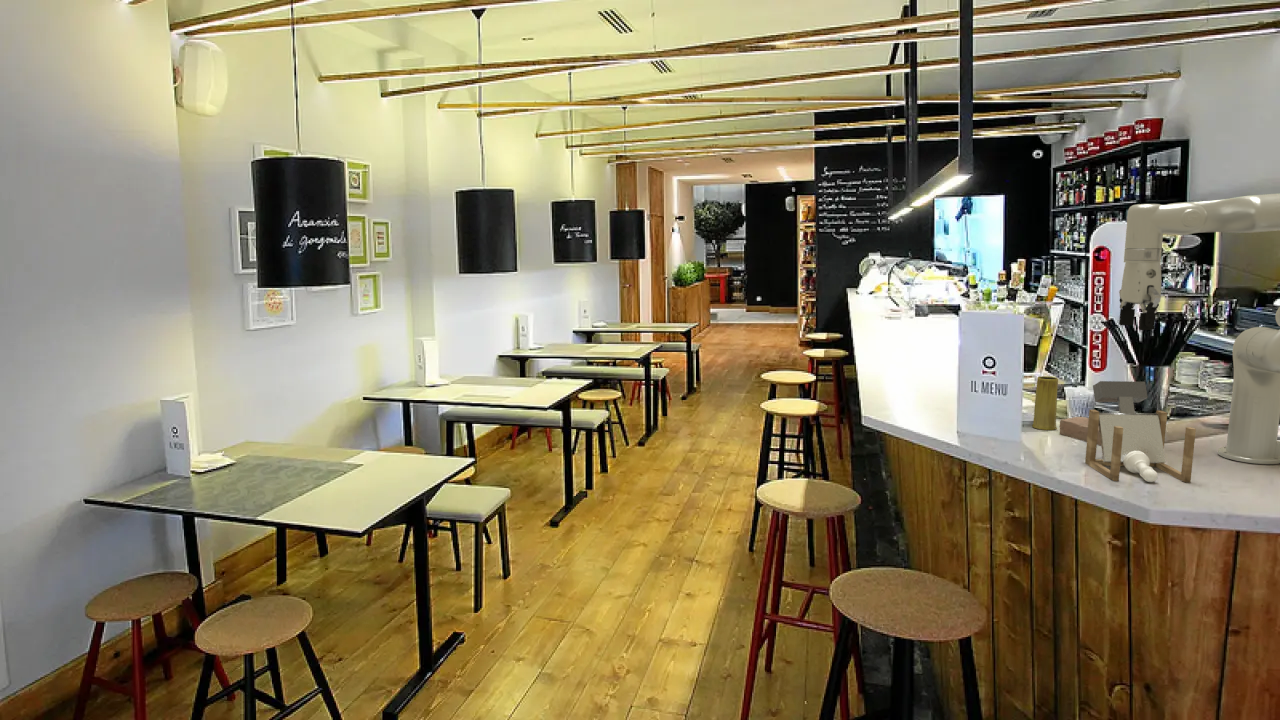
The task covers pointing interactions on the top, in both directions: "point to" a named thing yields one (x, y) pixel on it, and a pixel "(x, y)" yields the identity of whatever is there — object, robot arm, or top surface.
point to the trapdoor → (1128, 421)
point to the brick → (1076, 428)
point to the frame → (1117, 447)
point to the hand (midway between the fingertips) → (1136, 327)
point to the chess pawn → (1140, 465)
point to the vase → (1045, 403)
